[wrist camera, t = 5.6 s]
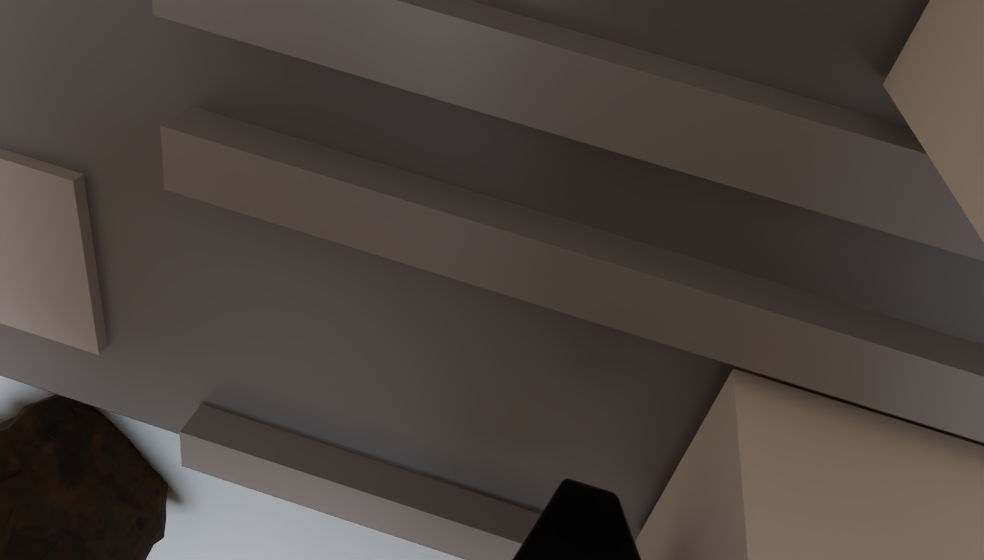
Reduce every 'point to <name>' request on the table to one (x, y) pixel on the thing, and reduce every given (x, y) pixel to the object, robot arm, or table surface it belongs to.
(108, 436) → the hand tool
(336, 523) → the table surface
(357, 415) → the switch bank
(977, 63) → the beige block
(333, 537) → the table surface
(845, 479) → the tab
